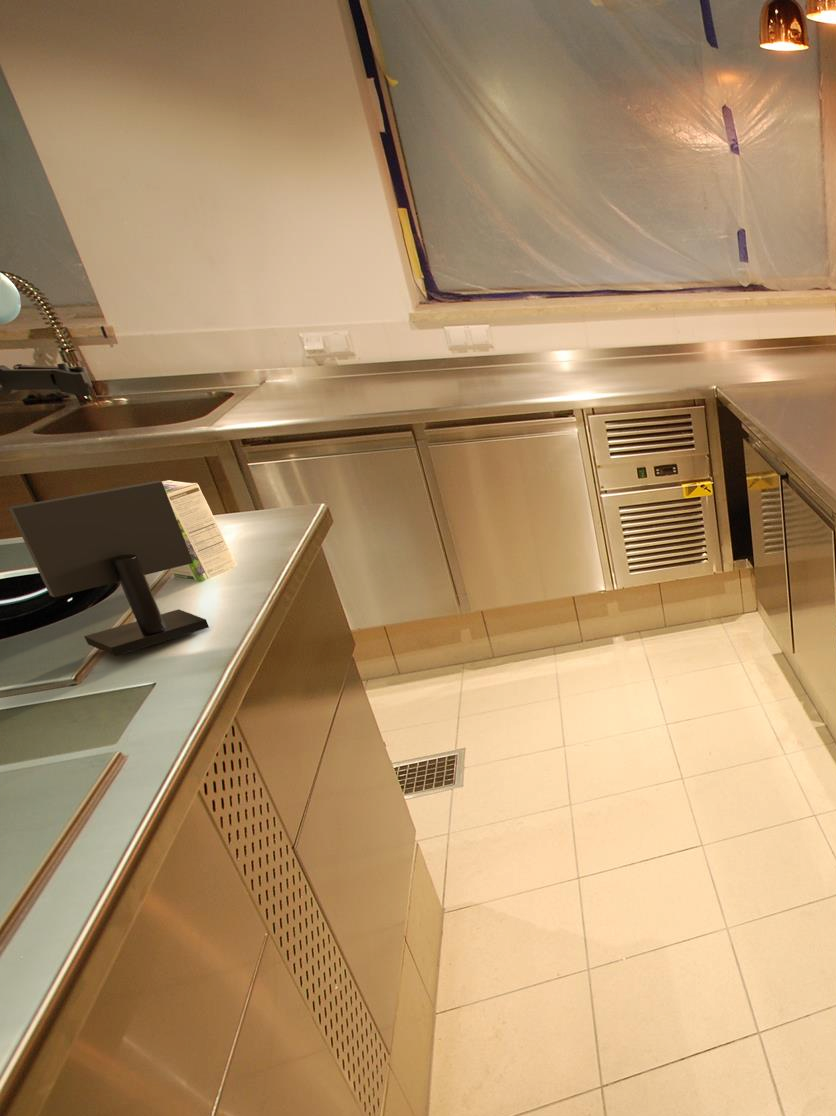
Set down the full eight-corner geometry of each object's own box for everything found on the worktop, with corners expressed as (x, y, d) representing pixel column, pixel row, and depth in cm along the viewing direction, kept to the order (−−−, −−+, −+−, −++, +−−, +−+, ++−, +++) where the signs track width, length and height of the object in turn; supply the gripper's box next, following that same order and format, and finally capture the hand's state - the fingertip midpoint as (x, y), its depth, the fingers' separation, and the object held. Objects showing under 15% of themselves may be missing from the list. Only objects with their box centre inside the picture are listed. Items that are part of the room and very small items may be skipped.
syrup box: (175, 583, 126) (125, 492, 118) (213, 566, 131) (168, 477, 123) (205, 587, 125) (156, 495, 117) (242, 570, 130) (198, 481, 122)
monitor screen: (54, 597, 100) (12, 508, 95) (49, 595, 100) (7, 506, 96) (193, 563, 111) (162, 481, 107) (188, 561, 112) (157, 480, 107)
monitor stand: (114, 656, 104) (76, 571, 99) (87, 644, 107) (49, 561, 102) (209, 627, 112) (178, 548, 107) (182, 617, 115) (150, 539, 110)
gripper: (79, 392, 121) (149, 408, 112) (-192, 421, 101) (-132, 443, 92) (55, 338, 118) (126, 349, 109) (-229, 356, 98) (-170, 372, 89)
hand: (8, 392), depth 100 cm, fingers open, 13 cm apart
